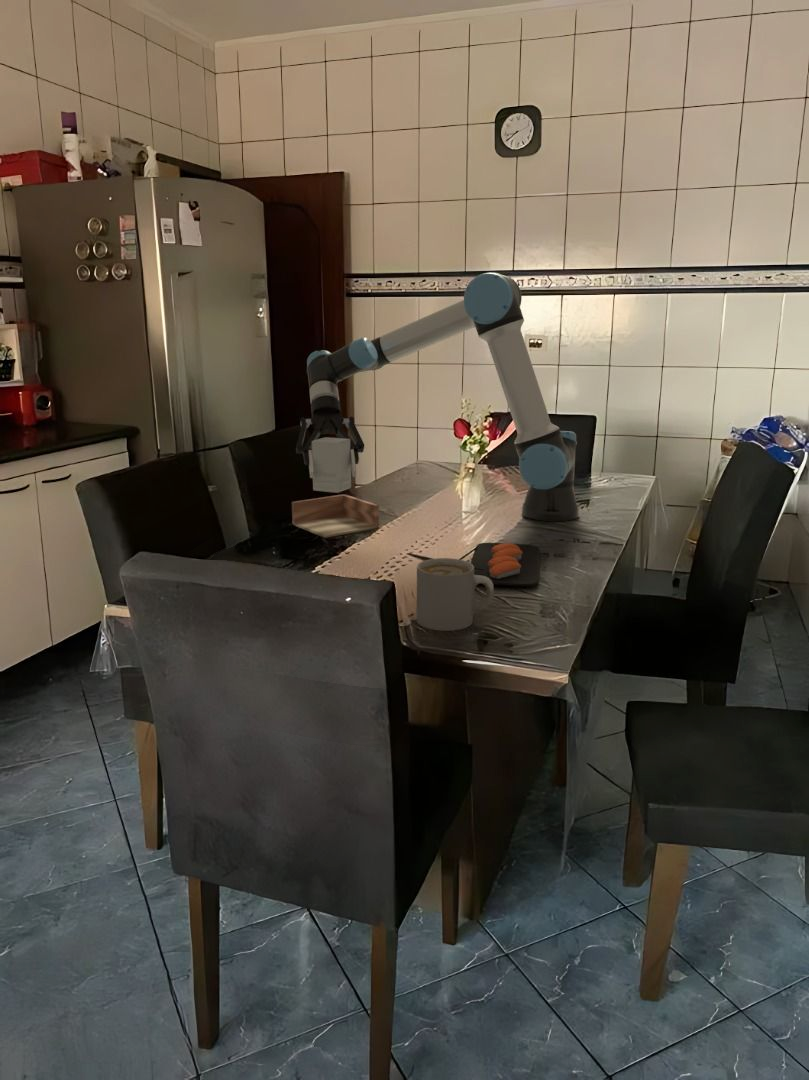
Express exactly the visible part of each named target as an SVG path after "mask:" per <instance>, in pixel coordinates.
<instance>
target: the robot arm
mask: <svg viewBox="0 0 809 1080" xmlns="http://www.w3.org/2000/svg"><path fill="white" fill-rule="evenodd" d="M522 299H523V298H522V291H521V289H520V287H519V285H518V283H517V282H516V281H515V280H514V279H513V278H511V277H510V276H508V275H504V274H501V273H499V272H493V271H491V272H489V271H488V272H486V273H485V272H484V273H481V274H478V275H477V276H476V277H474V278H472V279H471V281H469V283H468V285H467V286H466V288H465V291H464V294H463V299H462V300H460V301H458V302H455V303H453V304H451V305H449V306H446V307H445V308H442V309H439V310H438V311H435V312H433V313H431V314H428V315H426V316H424V317H421V318H420V319H417V320H415V321H412V322H410V323H408V324H406V325H404V326H402V327H399V328H396V329H395V330H393V331H389V332H388V333H387V332H386V334H383V335H381V336H379V337H376V338H374V339H371V340H370V339H369V338H368V337H366V336H365V337H361V338H358V339H355V340H353V341H351V343H348V344H346V345H344V346H343V347H341V348H339V349H337V350H335V351H333V352H330V351H328V350H324V349H322V350H315V351H313V352H311V353H310V354H309V356H308V357H307V360H306V374H307V379H308V381H307V382H308V388H309V399H310V400H309V401H310V408H311V409H310V410H311V412H310V413H311V418H306V417H305V416H303V417H301V418H300V423H299V424H300V430H299V434H298V437H297V440H296V441H297V442H296V445H295V447H296V448H295V453H296V454H298V455H300V454H301V455H303V462H304V463H303V464H304V466H308V470H309V478H310V479H313V475H314V469H313V459H312V441H314V440H317V439H319V437H320V436H321V434H322V435H335V436H336V438H343V439H350V455H351V476H352V477H351V478H356V476H357V465H358V464H359V463H360V462H359V461H360V457H359V453H363V452H364V450H365V443H364V441H363V439H362V437H361V435H360V433H359V431H358V429H357V426H356V424H355V417H354V416H350V417H349V418H344V417H343V415H342V412H341V411H342V409H341V404H340V403H341V402H340V395H339V388H338V384H339V382H342V381H343V380H346V379H347V378H349V377H351V376H352V377H353V376H354V375H356V374H358V373H359V374H360V373H362V372H369V371H377V370H380V369H381V368H383V367H384V366H386V365H388V364H391V363H392V362H395V361H397V360H400V359H401V358H404V357H408V356H410V355H412V354H414V353H416V352H419V351H421V350H423V349H427V348H428V347H431V346H433V345H436V344H437V343H440V342H443V341H445V340H447V339H450V338H452V337H455V336H457V335H460V334H462V333H464V332H466V331H469V330H472V329H473V328H475V330H476V333H477V336H478V338H479V339H481V340H483V341H485V342H486V343H487V346H488V349H489V352H490V354H491V355H490V356H491V358H492V361H493V364H494V367H495V370H496V373H497V376H498V378H499V382H500V386H501V388H502V391H503V393H504V397H505V399H506V400H505V401H506V403H507V406H508V409H509V413H510V415H511V418H512V421H513V424H514V427H515V429H516V432H517V436H516V438H515V439H514V441H513V442H514V444H513V445H514V446H515V450H516V453H517V456H518V458H519V459H518V460H519V461H518V469H519V473H520V476H521V478H522V480H523V481H524V482H525V483H526V484H527V485H529V486H528V489H527V492H526V496H525V498H524V502H523V503H522V506H521V515H522V516H523V517H525V518H528V519H531V520H536V521H545V522H566V521H572V520H576V519H577V518H578V517H579V511H580V509H579V506H578V503H577V498H576V493H575V490H574V485H575V484H574V483H575V464H576V447H577V444H578V441H577V434H576V433H575V432H574V431H570V430H569V431H567V430H561V429H560V427H559V426H557V425H556V424H553V423H552V422H551V418H550V417H549V412H548V410H547V406H546V404H545V401H544V397H543V394H542V392H541V388H540V386H539V382H538V379H537V376H536V374H535V373H536V372H535V369H534V366H533V364H532V361H531V358H530V353H529V351H528V348H527V346H526V343H525V342H526V341H525V339H524V336H523V332H522V331H521V329H522V326H523V325H524V324H523V323H524V322H525V318H524V315H523V313H522V309H521V306H522V305H521V304H522ZM310 425H311V426H312V427H313V428H314V429H313V431H312V433H311V434H310V437H308V440H307V441H306V442H305V444H304V441H305V438H306V433H307V429H308V428H309V427H310ZM343 425H345V427H346V428H348V432H349V434H350V435H351V437H350V436H349V434H348V433H347V432H346V431H345V429H344V427H343ZM303 445H304V446H303Z"/></svg>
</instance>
